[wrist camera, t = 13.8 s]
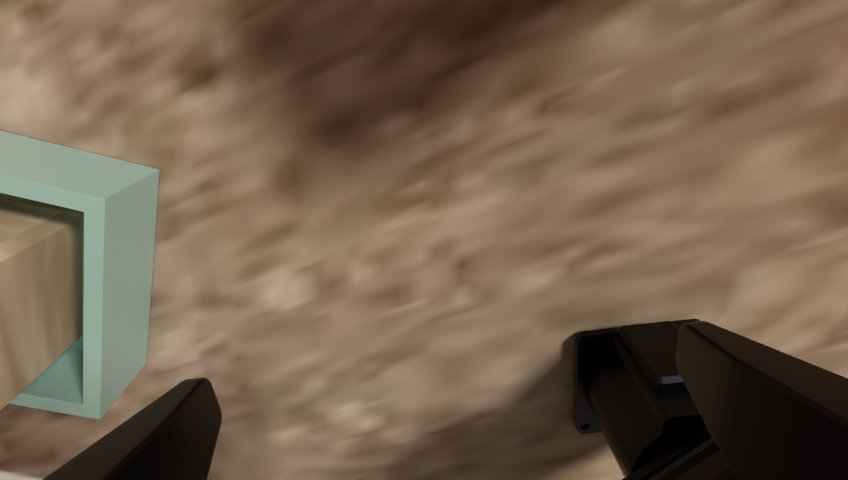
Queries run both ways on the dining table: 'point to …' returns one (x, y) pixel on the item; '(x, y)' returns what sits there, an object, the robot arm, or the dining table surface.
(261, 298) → the dining table surface
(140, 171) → the teal crate
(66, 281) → the birch crate
